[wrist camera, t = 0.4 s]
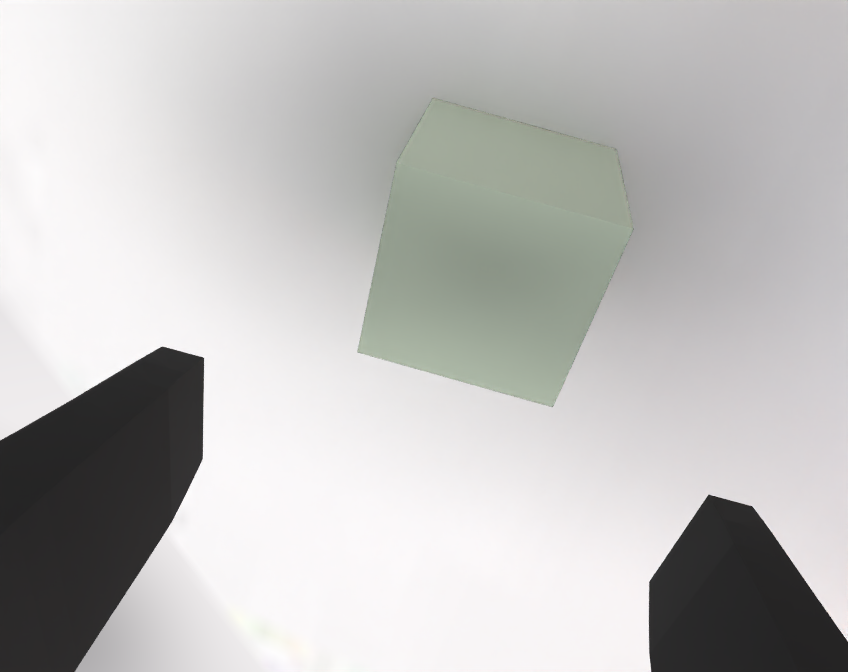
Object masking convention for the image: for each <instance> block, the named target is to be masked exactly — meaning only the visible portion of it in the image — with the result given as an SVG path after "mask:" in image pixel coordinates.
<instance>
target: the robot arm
mask: <svg viewBox="0 0 848 672" xmlns="http://www.w3.org/2000/svg"><path fill="white" fill-rule="evenodd" d="M203 392H204V358H203V357H199V356H195V355H192V354H188V353H184V352H181V351H177V350H173V349H170V348H166V347H161V348H159V349H157V350H155V351H153V352H152V353H150V354H148V355H146V356H145V357H143V358H141V359H140V360H138V361H136V362H134V363H133V364H131V365H129V366H128V367H126V368H124V369H123V370H121V371H119V372H118V373H116V374H114V375H113V376H111V377H109V378H108V379H106V380H104V381H103V382H101V383H99V384H98V385H96V386H94V387H93V388H91V389H89V390H88V391H86V392H84V393H83V394H81V395H79V396H78V397H76V398H74V399H73V400H71V401H69V402H67V403H66V404H64V405H62V406H61V407H59V408H57V409H55V410H54V411H52V412H50V413H48V414H46V415H45V416H43V417H41V418H39V419H38V420H36V421H34V422H32V423H31V424H29V425H27V426H25V427H24V428H22V429H20V430H19V431H17V432H15V433H13V434H11V435H9V436H8V437H6V438H4V439H2V440H0V672H75V670H76V668H77V667H78V665H79V664H80V662H81V661H82V659H83V658H84V656H85V655H86V653H87V652H88V650H89V649H90V647H91V645H92V644H93V642H94V641H95V639H96V638H97V636H98V635H99V633H100V631H101V630H102V629H103V627H104V626H105V624H106V622H107V621H108V620H109V618H110V616H111V615H112V613H113V612H114V610H115V609H116V607H117V606H118V604H119V603H120V601H121V599H122V598H123V597H124V595H125V594H126V592H127V590H128V589H129V587H130V586H131V584H132V583H133V581H134V580H135V578H136V577H137V575H138V574H139V572H140V571H141V569H142V567H143V566H144V564H145V563H146V561H147V560H148V558H149V556H150V555H151V554H152V552H153V550H154V549H155V547H156V546H157V544H158V543H159V541H160V540H161V538H162V536H163V535H164V533H165V532H166V530H167V529H168V527H169V525H170V524H171V522H172V520H173V518H174V516H175V514H176V513H177V511H178V509H179V507H180V505H181V503H182V501H183V499H184V497H185V495H186V493H187V491H188V489H189V486H190V484H191V482H192V480H193V478H194V476H195V474H196V472H197V470H198V468H199V466H200V463H201V461H202V459H203ZM649 654H650V663H651V672H848V641H847V640H846V638H845V637H844V636H843V634H842V633H841V631H840V630H839V629H838V627H837V626H836V624H835V623H834V622H833V620H832V619H831V617H830V616H829V614H828V613H827V612H826V610H825V609H824V607H823V606H822V604H821V603H820V602H819V600H818V599H817V597H816V596H815V594H814V593H813V591H812V590H811V589H810V587H809V586H808V584H807V583H806V581H805V580H804V578H803V577H802V576H801V574H800V573H799V571H798V570H797V568H796V567H795V565H794V564H793V563H792V561H791V560H790V558H789V557H788V555H787V554H786V553H785V551H784V550H783V548H782V547H781V545H780V544H779V542H778V541H777V540H776V538H775V537H774V535H773V534H772V532H771V531H770V530H769V528H768V527H767V526H766V524H765V523H764V521H763V520H762V519H761V517H760V516H759V515H758V513H757V512H756V511H755V509H754V508H753V507H752V506H749V505H745V504H741V503H738V502H734V501H730V500H727V499H723V498H719V497H716V496H712V495H708V496H707V498H706V499H705V501H704V502H703V504H702V505H701V507H700V508H699V510H698V511H697V513H696V514H695V516H694V517H693V519H692V520H691V521H690V523H689V524H688V526H687V527H686V529H685V530H684V532H683V533H682V535H681V536H680V538H679V539H678V541H677V542H676V543H675V545H674V546H673V548H672V549H671V551H670V552H669V554H668V555H667V557H666V558H665V560H664V561H663V563H662V564H661V566H660V567H659V568H658V570H657V571H656V573H655V574H654V576H653V577H652V579H651V580H650V582H649Z"/></svg>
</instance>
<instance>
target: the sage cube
mask: <svg viewBox="0 0 848 672" xmlns="http://www.w3.org/2000/svg"><path fill="white" fill-rule="evenodd" d="M633 229H634V228H633V223H632V219H631V214H630V210H629V205H628V200H627V196H626V191H625V187H624V182H623V177H622V173H621V168H620V164H619V159H618V154H617V150H616V149H614V148H611V147H607V146H604V145H600V144H596V143H593V142H589V141H586V140H582V139H578V138H575V137H571V136H568V135H564V134H560V133H557V132H553V131H550V130H546V129H543V128H539V127H535V126H532V125H528V124H525V123H521V122H517V121H514V120H510V119H507V118H503V117H500V116H496V115H492V114H489V113H485V112H482V111H478V110H474V109H471V108H467V107H464V106H460V105H457V104H453V103H449V102H446V101H442V100H439V99H435V98H433V99H432V100H431V102H430V104H429V106H428V107H427V109H426V111H425V113H424V115H423V116H422V118H421V120H420V122H419V123H418V125H417V127H416V129H415V131H414V132H413V134H412V136H411V138H410V139H409V141H408V143H407V145H406V147H405V148H404V150H403V152H402V154H401V155H400V157H399V159H398V161H397V163H396V167H395V172H394V177H393V182H392V187H391V192H390V196H389V201H388V206H387V211H386V216H385V221H384V225H383V230H382V235H381V240H380V245H379V250H378V254H377V259H376V264H375V269H374V274H373V279H372V283H371V288H370V293H369V298H368V303H367V308H366V312H365V317H364V322H363V327H362V332H361V337H360V341H359V346H358V351H357V352H358V353H362V354H365V355H369V356H372V357H376V358H379V359H383V360H386V361H390V362H394V363H397V364H401V365H404V366H408V367H411V368H415V369H418V370H422V371H426V372H429V373H433V374H436V375H440V376H443V377H447V378H450V379H454V380H458V381H461V382H465V383H468V384H472V385H475V386H479V387H482V388H486V389H490V390H493V391H497V392H500V393H504V394H507V395H511V396H514V397H518V398H522V399H525V400H529V401H532V402H536V403H539V404H543V405H546V406H550V407H553V406H554V404H555V401H556V399H557V397H558V395H559V393H560V390H561V388H562V386H563V384H564V382H565V379H566V377H567V375H568V373H569V371H570V368H571V366H572V364H573V362H574V359H575V357H576V355H577V353H578V351H579V348H580V346H581V344H582V342H583V340H584V337H585V335H586V333H587V331H588V329H589V326H590V324H591V322H592V320H593V318H594V315H595V313H596V311H597V309H598V307H599V304H600V302H601V300H602V298H603V295H604V293H605V291H606V289H607V287H608V284H609V282H610V280H611V278H612V276H613V273H614V271H615V269H616V267H617V265H618V262H619V260H620V258H621V256H622V254H623V251H624V249H625V247H626V245H627V242H628V240H629V238H630V236H631V234H632V231H633Z"/></svg>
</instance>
